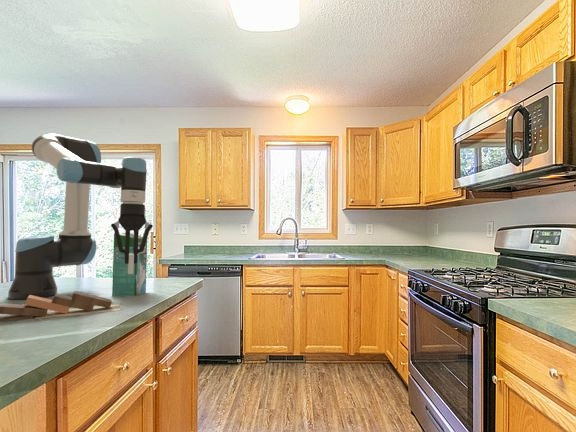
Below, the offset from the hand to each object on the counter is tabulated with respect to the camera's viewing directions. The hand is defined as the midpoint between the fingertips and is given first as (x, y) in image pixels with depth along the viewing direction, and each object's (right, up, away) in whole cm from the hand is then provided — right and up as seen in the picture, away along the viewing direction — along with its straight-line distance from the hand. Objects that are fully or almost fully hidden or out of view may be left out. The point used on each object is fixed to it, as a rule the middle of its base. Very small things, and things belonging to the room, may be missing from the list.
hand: (130, 273), depth 108 cm
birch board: (-12, -11, -8) cm, 18 cm away
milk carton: (-10, -13, +19) cm, 25 cm away
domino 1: (-19, -9, -12) cm, 24 cm away
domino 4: (-5, -9, -4) cm, 11 cm away
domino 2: (-22, -11, -14) cm, 28 cm away
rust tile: (-14, -9, -9) cm, 20 cm away
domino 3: (-9, -10, -6) cm, 14 cm away
